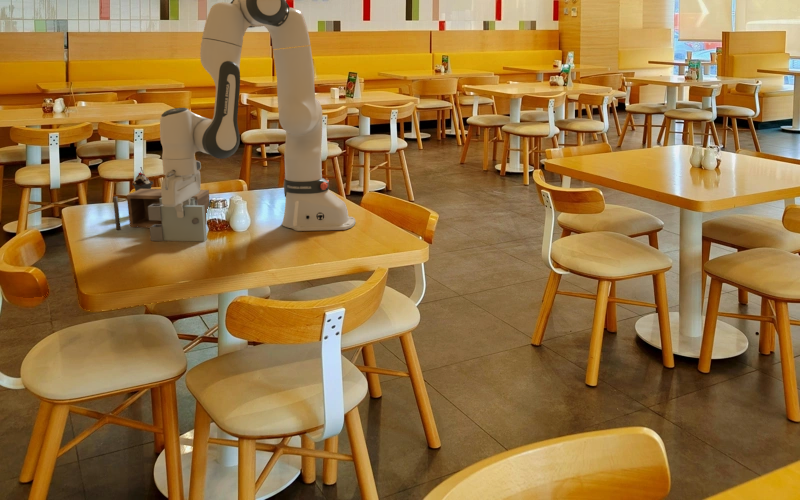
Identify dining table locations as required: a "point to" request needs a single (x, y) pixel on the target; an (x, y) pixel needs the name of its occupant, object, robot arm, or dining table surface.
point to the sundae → (142, 182)
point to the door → (178, 223)
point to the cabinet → (147, 197)
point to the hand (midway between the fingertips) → (183, 215)
